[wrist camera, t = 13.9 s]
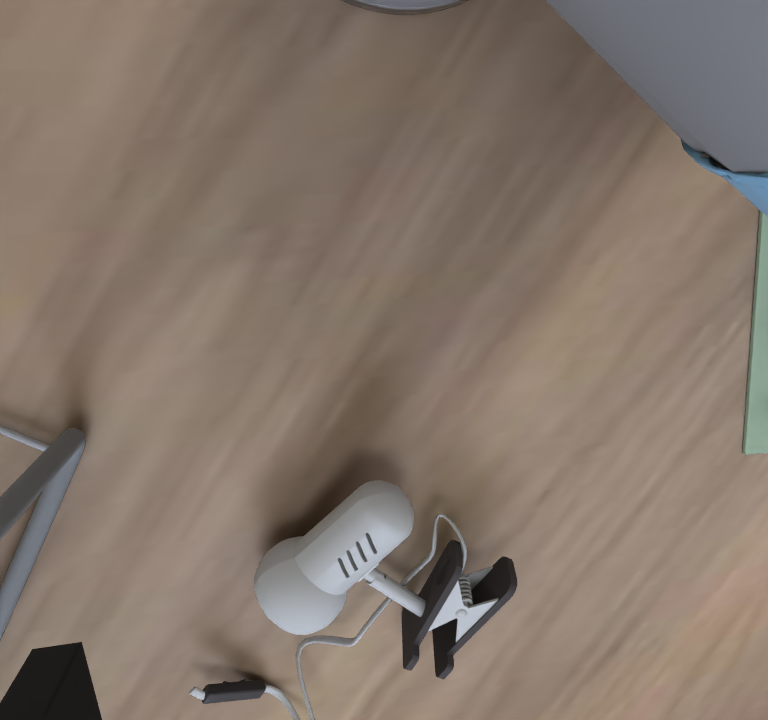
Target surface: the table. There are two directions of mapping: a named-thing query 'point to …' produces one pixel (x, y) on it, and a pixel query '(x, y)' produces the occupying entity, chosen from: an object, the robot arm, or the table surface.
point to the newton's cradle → (52, 483)
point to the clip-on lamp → (357, 561)
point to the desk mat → (758, 353)
